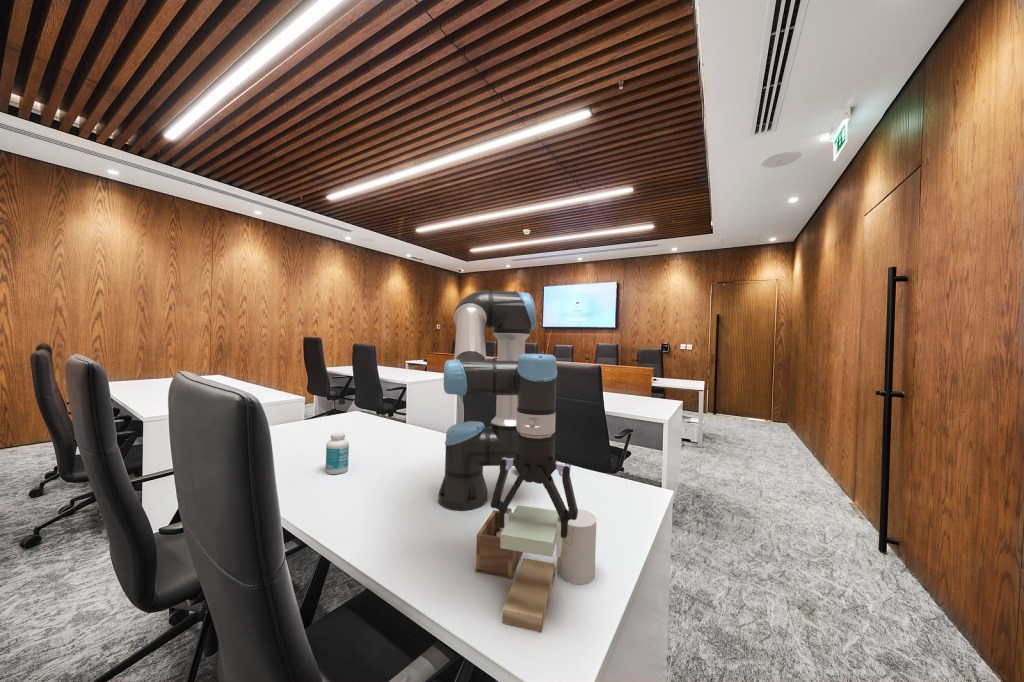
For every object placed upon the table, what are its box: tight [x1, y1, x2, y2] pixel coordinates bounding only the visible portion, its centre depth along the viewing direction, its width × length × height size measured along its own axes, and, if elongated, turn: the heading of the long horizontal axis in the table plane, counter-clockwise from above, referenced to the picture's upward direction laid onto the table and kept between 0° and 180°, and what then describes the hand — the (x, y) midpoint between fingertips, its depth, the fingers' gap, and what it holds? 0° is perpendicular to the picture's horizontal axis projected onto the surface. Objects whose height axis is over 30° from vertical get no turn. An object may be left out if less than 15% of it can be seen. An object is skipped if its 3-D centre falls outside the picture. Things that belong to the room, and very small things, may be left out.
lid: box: [500, 504, 559, 558], centre depth 72 cm, size 12×10×3 cm
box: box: [475, 509, 524, 580], centre depth 85 cm, size 12×8×8 cm, turn 165°
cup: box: [556, 508, 597, 586], centre depth 81 cm, size 8×8×12 cm
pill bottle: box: [325, 432, 350, 475], centre depth 135 cm, size 8×7×14 cm
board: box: [501, 557, 556, 633], centre depth 73 cm, size 16×7×2 cm, turn 165°
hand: (532, 548), depth 72 cm, fingers closed on lid, 9 cm apart
